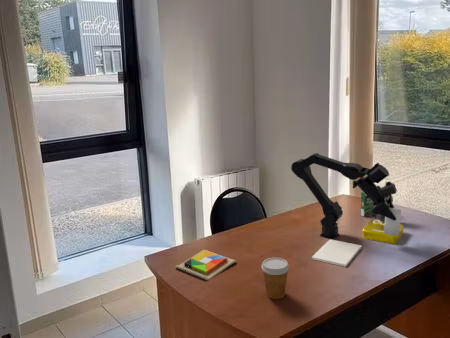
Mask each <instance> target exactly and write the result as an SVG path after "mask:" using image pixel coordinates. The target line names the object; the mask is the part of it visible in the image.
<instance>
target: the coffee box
mask: <svg viewBox="0 0 450 338" xmlns="http://www.w3.org/2000/svg"><path fill="white" fill-rule="evenodd" d="M373 207H374V205H373V202H372V201H371V200H370V199H369V198H368V199H367V197H366V194H365V193H364V192H363V191H361V192H360V216H361V217H362V218H367V217H371V216H376V215H375V214H374V213H373V212H372V211H373Z"/></svg>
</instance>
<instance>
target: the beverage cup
mask: <svg viewBox="0 0 450 338" xmlns="http://www.w3.org/2000/svg"><path fill="white" fill-rule="evenodd" d="M387 182H388V181H385V183H384V186H386V183H387ZM391 196H392V200H391V202H392V204H393V202H394V198H393V197H394V196H393V194H391ZM391 196H388V197H391ZM378 220H379V221H384V222H385V216H382V215H380V214H378Z"/></svg>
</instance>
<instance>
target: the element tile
mask: <svg viewBox="0 0 450 338" xmlns="http://www.w3.org/2000/svg"><path fill="white" fill-rule="evenodd" d="M384 225H385V222H384V221H379V219H370V220H369V221H368V222H367V223H366V224H365V225H364V226H363V228H362V231H361V232H362V233H361V236H362V238H363V239H364V240H370V241H375V242H379V243H385V244H390V245H391V244H392V245H394V244H395V245H396V244H397V243H398V242H399V241H400V239H401V238H402V236H403V234H404V225H403V224H401V223H400V229H399V234H398V235H388V234H385V233H384Z"/></svg>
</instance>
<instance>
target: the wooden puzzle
mask: <svg viewBox="0 0 450 338" xmlns="http://www.w3.org/2000/svg"><path fill="white" fill-rule="evenodd" d="M234 263H237V260H236V259H234V258H233V259H232V258H229V257H227V256H223V255H220V254H217V253H215V252H212V251H210V250H207V249H202V250H200V251H199V252H198V253H196V254H194V255H193V256H191V257H189V258H188V259H186V260H185V261H183V262H182V263H180V264H179V265H178V264H176V265H175V268H176V269H179V270H180V271H184V272H186V273H189V274H191V275H193V276H196V277H198V278H201V279H204V280H205V281H209V280H211V279H212V278H214V277H215V276H217V275H218V274H220V273H221V272H223V271H224V270H226V269H227V268H228V267H230V266H231V265H233V264H234ZM188 266H189V267H188ZM178 267H179V268H178ZM180 268H181V269H180ZM193 268H194V269H193ZM183 269H184V270H183ZM185 270H186V271H185ZM198 270H199V271H198Z"/></svg>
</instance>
